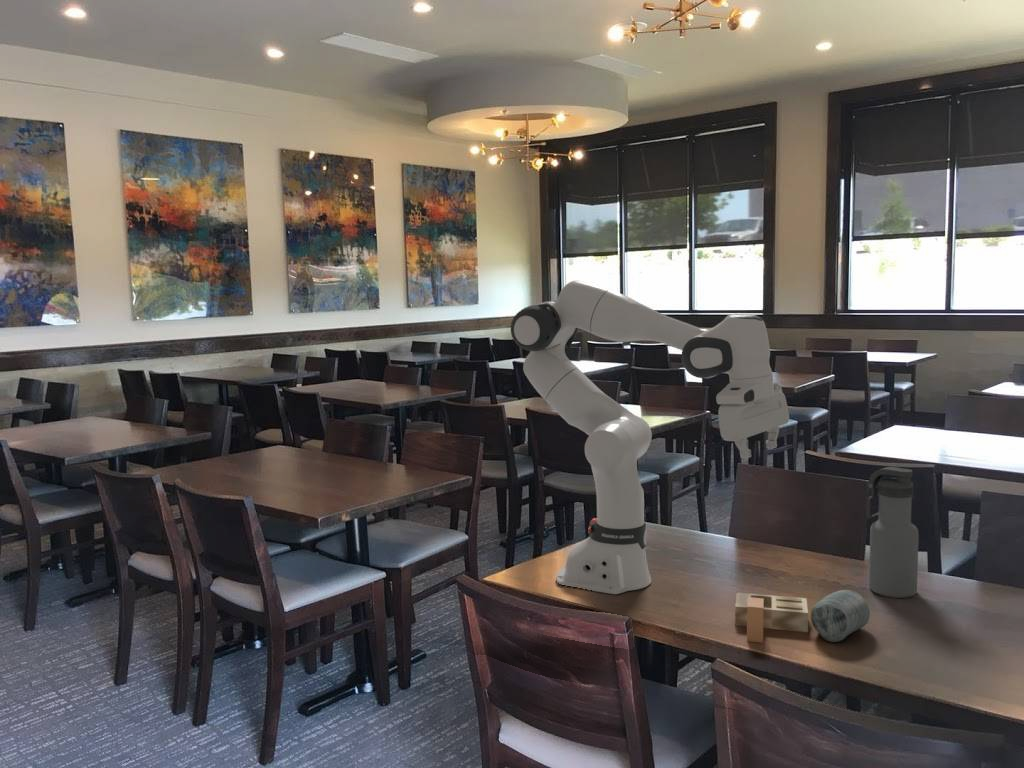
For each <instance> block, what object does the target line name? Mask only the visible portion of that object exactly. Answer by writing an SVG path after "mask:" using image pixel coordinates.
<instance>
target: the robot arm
mask: <svg viewBox="0 0 1024 768" xmlns="http://www.w3.org/2000/svg"><path fill="white" fill-rule="evenodd" d="M580 329H581V330H582V331H585V332H587V333H590V334H591V335H594V336H596V337H598V338H602V339H604V340H609V341H611V342H612V341H613V342H617V343H626V342H637V341H650V342H651V341H652V342H657V343H661V344H664V345H666V346H669V347H672V348H675V349H678V350H681V363H682V365H683V367H684V369H685V370H686V372H687V373H688V374H689V375H691V376H693V377H695V378H698V379H711V378H713V377H717V376H718V375H721V374H728V376H729V377H728V378H729V383H728V384H727V385H726V386H725V387H724V388H723V389H722V390H721V391H719V392H718V393H717V394H716V396H715V399H716V400H715V401H716V403H717V405H719V408H718V411H717V412H718V414H717V415H718V427H719V432H720V436H721V438H722V439H723V440H724V441H725V442H726V441H727V442H734V444H735V446H736V448H737V449H738V451H739V456H740V459H742V460H747V459H749V458H752V450H751V449H749V448H748V446H747V442H748V438H750V437H752V436H756V435H758V434H761V433H764V432H767V433H768V435H767V440H765V444H766V446H765V447H766V449H768V450H773V449H776V448H777V447H778V443H777V442H778V441H777V440H778V436H779V432H780V428H779V427H782V426H784V425H787V424H788V423H789V420H790V413H789V408H788V402H787V398H786V395H785V393H784V392H783V388H782V386H780V384H778V383H777V382H774V378H773V377H774V376H773V371H772V368H771V366H770V357H771V347H770V341H769V336H768V330H767V327H766V323H765V321H764V320H763V319H762V318H761V317H760V316H759V315H755V314H751V313H749V314H748V313H733V314H729V315H727V316H726V317H725V318H724V319H723V320H722V321H721V322H719V323H717V324H716V325H715V326H713V327H710V328H705V327H699V326H696V325H694V324H691V323H689V322H685V321H683V320H681V319H677V318H674V317H671V316H670V315H669V316H668V315H666V314H663V313H661V312H658V311H656V310H654V309H653V308H651V307H649V306H646V305H645V304H643V303H640V302H639V301H637V300H635V299H633V298H631V297H630V296H627V295H625V294H622V293H621V292H618V291H616V290H614V289H611V288H608V287H606V286H602V285H599V284H595V283H593V282H592V283H591V282H587V281H581V280H572V281H569V282H568V283H566V284H565V285H564V286H563V288H562V289H561V290H560V292H559V294H558V297H557V299H556V300H551V301H543V302H539V303H537V304H533V305H528V306H527V307H526V306H525V307H524V308H522V309H520V310H519V311H518V312H516V314H515V315H514V317H513V318H512V320H511V323H510V335H511V339H512V340H513V342H514V343H515V344H516V345H517V346H518V347H519V348H520V349H523V350H525V351H528V352H529V353H528V354H527V356H526V358H525V360H524V362H523V366H522V367H523V368H522V369H523V373H524V375H525V376H526V378H527V380H528V381H529V383H530V384H531V386H532V387H533V389H535V391H536V392H537V393H538V394H539V395H540V396H541V398H543V400H544V401H545V402H546V403H547V404H548V405H549V406H550V407H551V408H552V409H553V410H554V411H555V412H556V413H557V414H558V415H559V416H560V417H561V418H562V419H563V420H564V421H565V422H566V423H567V424H568V425H569V426H572V427H574V428H577V429H579V430H580V431H582V432H583V433H585V434H586V435H588V437H587V439H586V441H585V443H584V455H585V458H586V460H587V462H588V463H589V465H590V466H591V471H592V475H593V479H594V485H595V493H596V517H593V518H592V519H591V520H590V521H589V525H588V531H587V532H588V537H587V538H585V539H584V540H582V541H581V542H580V543H578V544H576V546H574V547H573V548H572V549H571V550H570V551H569V553H568V555H567V558H566V562H565V566H563V567H562V568H560V569H559V570H558V572H557V573H556V577H555V578H556V579H555V582H556V581H557V582H558V583H559V584H562V585H567V586H572V587H571V588H573V587H578V588H577V589H579V588H583V589H582V590H585V589H587V591H591V590H592V592H598V593H603V594H611V595H618V594H619V595H620V594H622V593H625V592H629V591H635V590H636V591H637V590H641V589H644V588H646V587H648V586H649V585H651V583H652V577H651V575H650V571H649V565H648V560H647V555H646V553H647V552H646V546H647V535H648V534H647V524H646V522H645V499H644V498H645V496H644V493H645V492H644V488H643V487H642V485H641V481H640V476H639V473H638V459H639V458H642V456H644V455H645V453H647V451H648V449H649V447H650V445H651V442H652V437H653V435H652V434H653V433H652V432H653V431H652V429H651V427H650V425H649V424H648V422H647V421H646V420H645V419H644V418H643V417H640V416H638V415H635V414H634V413H633V412H631V411H630V410H628V409H627V408H625V407H624V406H623V405H622V404H621V403H619V402H617V401H615V400H614V399H613V398H612V397H610V396H608V395H607V394H606V393H604V391H602V390H601V389H600V388H599V387H598V386H597V385H596V384H595V383H594V382H593V381H592V380H591V379H589V378H588V377H587V376H586V375H585V373H583V372H582V371H581V370H580V369H579V367H577V366H576V364H574V363H573V362H572V361H571V360H570V359H569V358H568V356H567V355H566V351H567V350H569V349H570V348H571V346H572V345H573V344H572V343H573V342H574V339H575V337H576V336H577V334H578V332H579V330H580ZM557 582H556V583H557ZM558 583H557V584H558ZM559 584H558V585H559ZM567 586H566V587H567Z"/></svg>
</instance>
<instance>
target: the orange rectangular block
mask: <svg viewBox="0 0 1024 768" xmlns="http://www.w3.org/2000/svg"><path fill="white" fill-rule="evenodd" d="M763 605H764V599H763V598H752V597H748V604H747V626H746V641H747V642H752V643H754V642H755V643H756V642H757V643H764V628H763Z"/></svg>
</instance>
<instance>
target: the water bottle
mask: <svg viewBox="0 0 1024 768" xmlns="http://www.w3.org/2000/svg"><path fill="white" fill-rule="evenodd" d="M884 475H890V476H895V477H890V478H889V477H888V478H883V479H882V477H883V476H884ZM912 477H913V470H912V469H910V468H909V469H908V468H902V467H895V466H888V467H887V466H886V467H883V468H880V469H878V470H875V471H873V472H872V473H871V475H870V476H869V479H868V488H869V489H871V490H870V491H871V492H870V493H871V494H870V496H868V498H867V501H866V517H867V519H870V520H872V519H875V518H877V517H878V519H877V520H876V521H874V522H872V524H871V526H870V530H869V531H870V533H869V567H868V568H869V570H868V572H869V573H868V586H869V589H870V590H871V591H872V592H874V593H875V594H877V595H880V596H883V597H886V598H894V599H907V598H911V597H914V596H915V595H916V594H917V590H918V568H919V567H918V566H919V563H918V562H919V537H920V536H919V529H918V528H917V526H916V525H915V524H913V523H912V498H913V497H914V483H913V482H912V481H911V478H912ZM876 498H878V510H877V512H876V513H874V514H872V513H871V512H872V501H873V499H876Z"/></svg>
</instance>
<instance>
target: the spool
mask: <svg viewBox="0 0 1024 768" xmlns="http://www.w3.org/2000/svg"><path fill="white" fill-rule="evenodd" d="M870 614H871V613H870V608H869V605H868V604H867V601H866V600H865V599H864V598H863V596H861V595H860V594H859V593H858V592H856V591H853V590H850V589H842V590H837V591H835V592H832V593H830V594H827V595H826V596H824V597H823V598H822V599H820V600H819V601H818V602H817V603H815V604H814V605H813V607H812V608H811V610H810V621H811V623H812V626H813V628H814V629H815V630H816V632H817V633H818V635H820V637H821V638H823V640H825V641H828V642H830V643H835V642H836V643H837V642H838V643H839V642H841V641H843V640H845V638H847V637H848V636H849V635H851V634H852V633H854V632H857V631H858V630H860V629H862V628H863V627H864V626H866V625H867V624H868V622H869V620H870Z"/></svg>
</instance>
